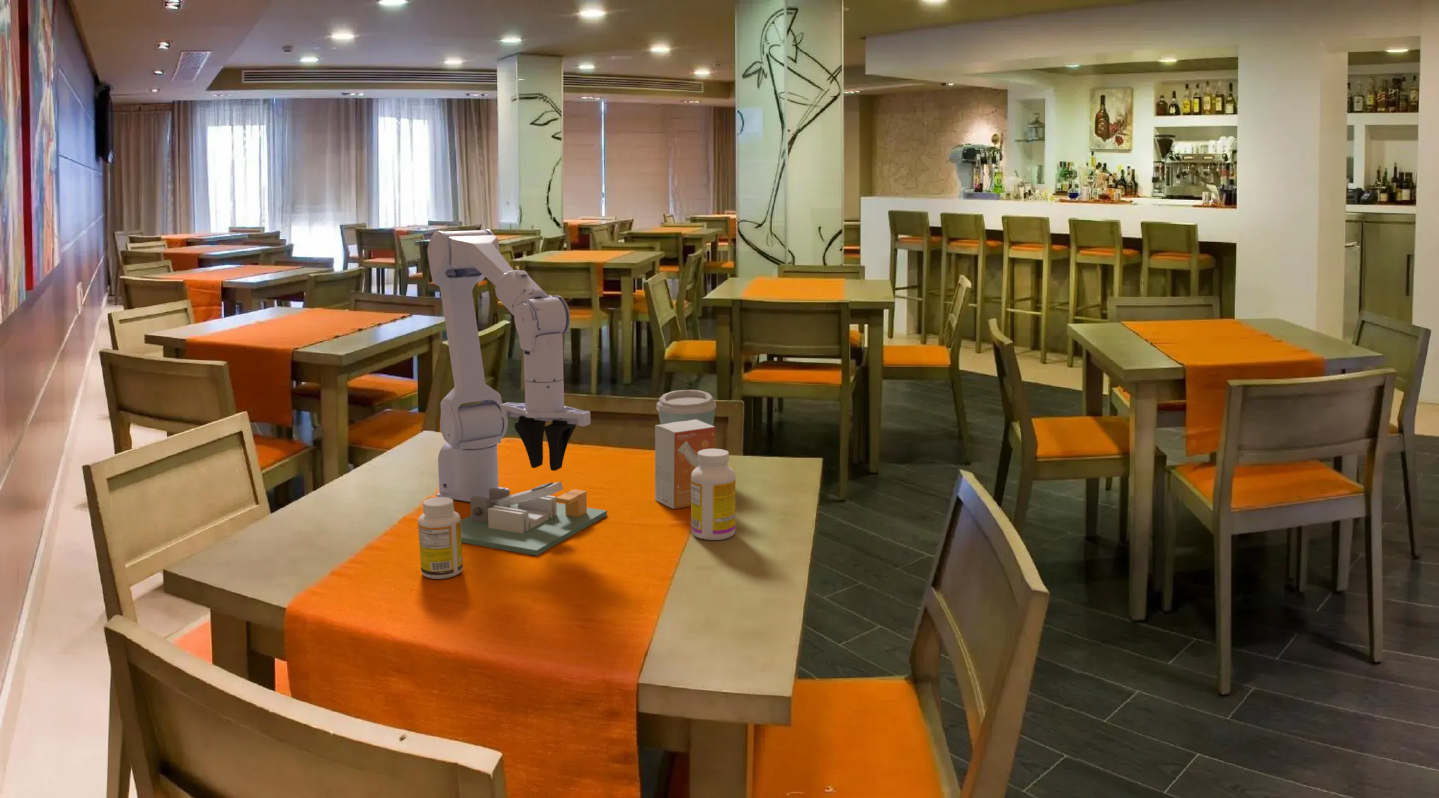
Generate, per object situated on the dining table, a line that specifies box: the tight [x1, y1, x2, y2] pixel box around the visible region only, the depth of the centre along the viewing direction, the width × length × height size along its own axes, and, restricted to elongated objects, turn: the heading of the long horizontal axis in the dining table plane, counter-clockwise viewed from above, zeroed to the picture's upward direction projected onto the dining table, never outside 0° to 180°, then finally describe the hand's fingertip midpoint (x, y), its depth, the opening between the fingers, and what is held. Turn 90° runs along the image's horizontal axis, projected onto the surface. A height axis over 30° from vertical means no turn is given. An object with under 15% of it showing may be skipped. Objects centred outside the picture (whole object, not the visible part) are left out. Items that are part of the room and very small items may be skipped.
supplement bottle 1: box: [417, 496, 464, 580], centre depth 146 cm, size 6×6×10 cm
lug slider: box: [556, 488, 588, 517], centre depth 168 cm, size 2×5×4 cm, turn 156°
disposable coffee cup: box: [655, 389, 717, 426], centre depth 192 cm, size 11×11×15 cm
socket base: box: [460, 488, 608, 557], centre depth 166 cm, size 18×20×4 cm
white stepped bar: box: [491, 481, 564, 508], centre depth 165 cm, size 13×3×2 cm, turn 64°
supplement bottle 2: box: [690, 448, 736, 541], centre depth 162 cm, size 7×7×13 cm
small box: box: [654, 419, 716, 510], centre depth 178 cm, size 8×6×13 cm
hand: (546, 467), depth 162 cm, fingers open, 3 cm apart
